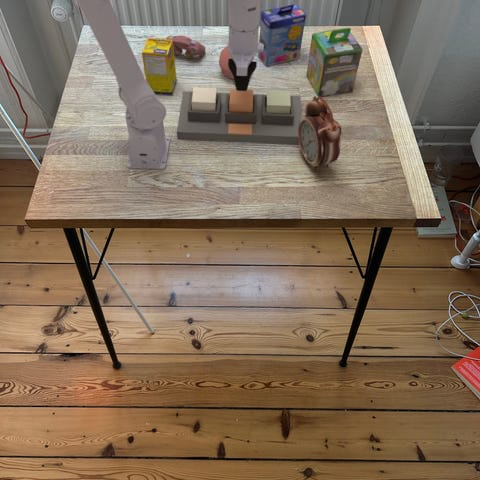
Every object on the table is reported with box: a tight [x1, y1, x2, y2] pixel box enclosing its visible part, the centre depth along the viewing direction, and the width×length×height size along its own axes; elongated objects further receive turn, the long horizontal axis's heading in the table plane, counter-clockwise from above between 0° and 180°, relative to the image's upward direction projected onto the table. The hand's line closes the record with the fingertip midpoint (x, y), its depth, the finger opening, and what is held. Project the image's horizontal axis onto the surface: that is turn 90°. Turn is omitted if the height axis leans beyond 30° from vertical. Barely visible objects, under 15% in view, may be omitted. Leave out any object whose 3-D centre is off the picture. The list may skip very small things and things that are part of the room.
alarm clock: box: [298, 95, 342, 173], centre depth 101 cm, size 11×5×15 cm, turn 21°
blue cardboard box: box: [257, 3, 307, 67], centre depth 123 cm, size 10×6×14 cm, turn 115°
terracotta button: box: [229, 88, 254, 113], centre depth 110 cm, size 5×5×3 cm
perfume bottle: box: [218, 44, 234, 79], centre depth 120 cm, size 8×8×12 cm
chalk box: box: [306, 27, 364, 97], centre depth 117 cm, size 9×9×15 cm
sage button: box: [266, 89, 291, 114], centre depth 110 cm, size 5×5×3 cm
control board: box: [176, 90, 303, 145], centre depth 112 cm, size 14×27×4 cm, turn 88°
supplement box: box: [141, 37, 178, 96], centre depth 116 cm, size 6×6×11 cm
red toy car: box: [165, 34, 206, 59], centre depth 127 cm, size 10×5×7 cm, turn 73°
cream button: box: [192, 86, 218, 111], centre depth 110 cm, size 5×5×3 cm
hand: (241, 85), depth 107 cm, fingers open, 3 cm apart
